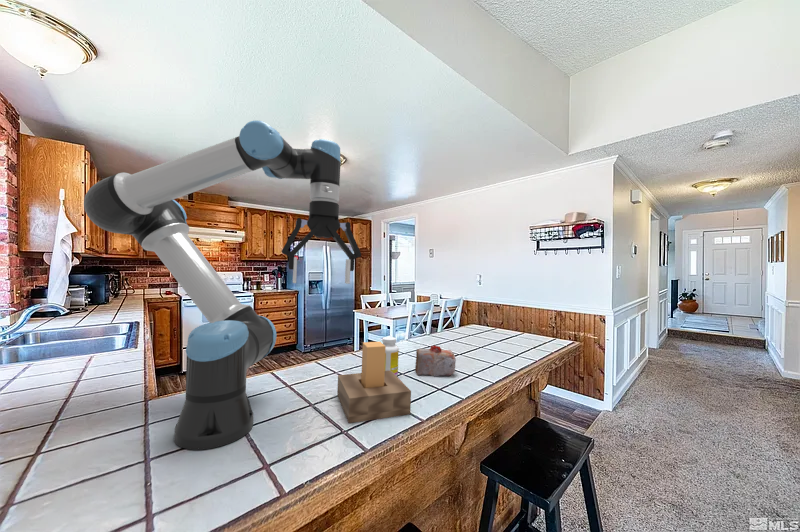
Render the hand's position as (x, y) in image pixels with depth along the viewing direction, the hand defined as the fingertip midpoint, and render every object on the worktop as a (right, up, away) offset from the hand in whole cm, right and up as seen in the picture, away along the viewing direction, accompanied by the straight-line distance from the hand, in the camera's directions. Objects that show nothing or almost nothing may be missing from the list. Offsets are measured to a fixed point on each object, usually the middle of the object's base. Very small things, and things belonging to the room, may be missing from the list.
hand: (321, 283), depth 84 cm
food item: (+33, -34, +29) cm, 56 cm away
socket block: (+13, -33, +3) cm, 36 cm away
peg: (+13, -32, +3) cm, 34 cm away
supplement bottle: (+17, -33, +25) cm, 45 cm away
